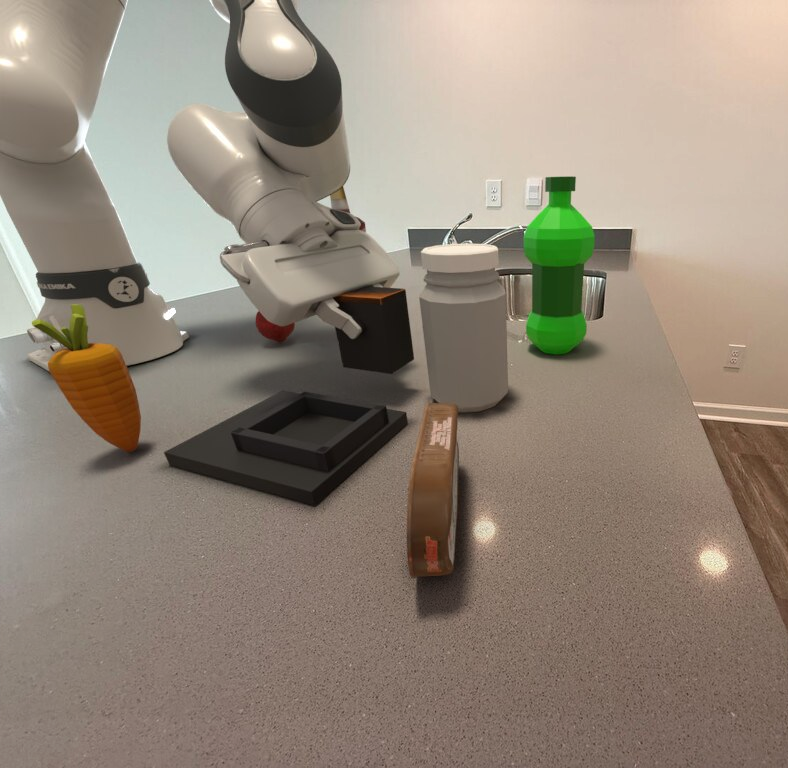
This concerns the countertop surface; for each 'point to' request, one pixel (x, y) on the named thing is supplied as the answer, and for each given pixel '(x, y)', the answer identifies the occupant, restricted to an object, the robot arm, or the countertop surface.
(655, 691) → the countertop surface
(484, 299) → the jar
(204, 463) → the base pad
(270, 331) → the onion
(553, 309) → the plastic bottle
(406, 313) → the pad block
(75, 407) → the carrot
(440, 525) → the tin
